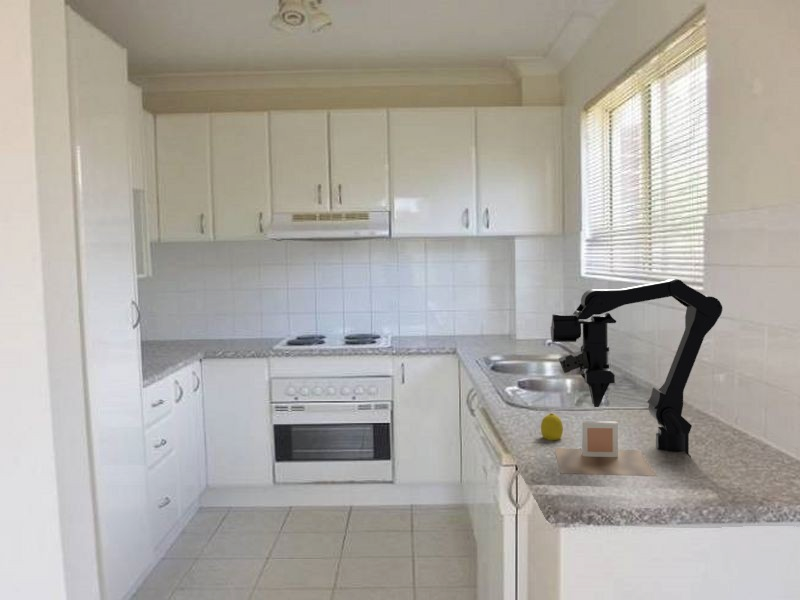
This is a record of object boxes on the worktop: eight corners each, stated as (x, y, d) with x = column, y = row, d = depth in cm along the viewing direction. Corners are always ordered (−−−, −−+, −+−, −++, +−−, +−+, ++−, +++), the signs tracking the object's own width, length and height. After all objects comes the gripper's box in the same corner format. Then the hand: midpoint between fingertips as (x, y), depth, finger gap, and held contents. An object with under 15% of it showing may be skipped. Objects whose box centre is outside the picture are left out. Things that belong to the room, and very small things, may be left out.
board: (640, 456, 152) (640, 450, 152) (657, 482, 134) (657, 475, 134) (554, 454, 155) (554, 448, 155) (560, 480, 138) (560, 473, 138)
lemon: (547, 447, 161) (547, 416, 160) (537, 441, 166) (536, 411, 166) (567, 445, 162) (566, 414, 162) (556, 439, 168) (555, 409, 167)
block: (616, 454, 149) (616, 421, 148) (618, 457, 147) (617, 423, 147) (581, 454, 150) (581, 420, 150) (582, 456, 148) (582, 422, 148)
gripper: (557, 337, 163) (558, 396, 164) (564, 347, 145) (564, 414, 146) (602, 336, 162) (603, 397, 163) (614, 347, 143) (615, 415, 144)
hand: (595, 405), depth 154 cm, fingers open, 3 cm apart
